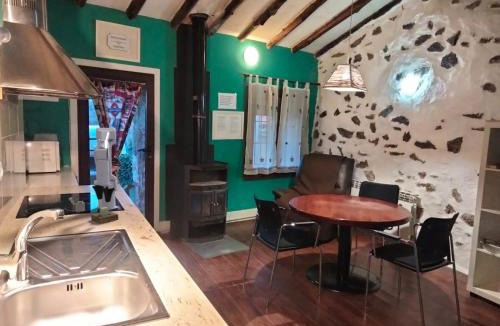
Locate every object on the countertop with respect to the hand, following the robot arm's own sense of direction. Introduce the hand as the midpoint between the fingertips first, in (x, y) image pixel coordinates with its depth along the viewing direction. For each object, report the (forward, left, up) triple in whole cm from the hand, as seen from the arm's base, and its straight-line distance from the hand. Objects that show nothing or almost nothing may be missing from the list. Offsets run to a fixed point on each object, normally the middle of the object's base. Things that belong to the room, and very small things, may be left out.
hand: (103, 200), depth 163 cm
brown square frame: (+1, 0, -9) cm, 9 cm away
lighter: (-23, -3, -10) cm, 25 cm away
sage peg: (+1, -1, -9) cm, 9 cm away
